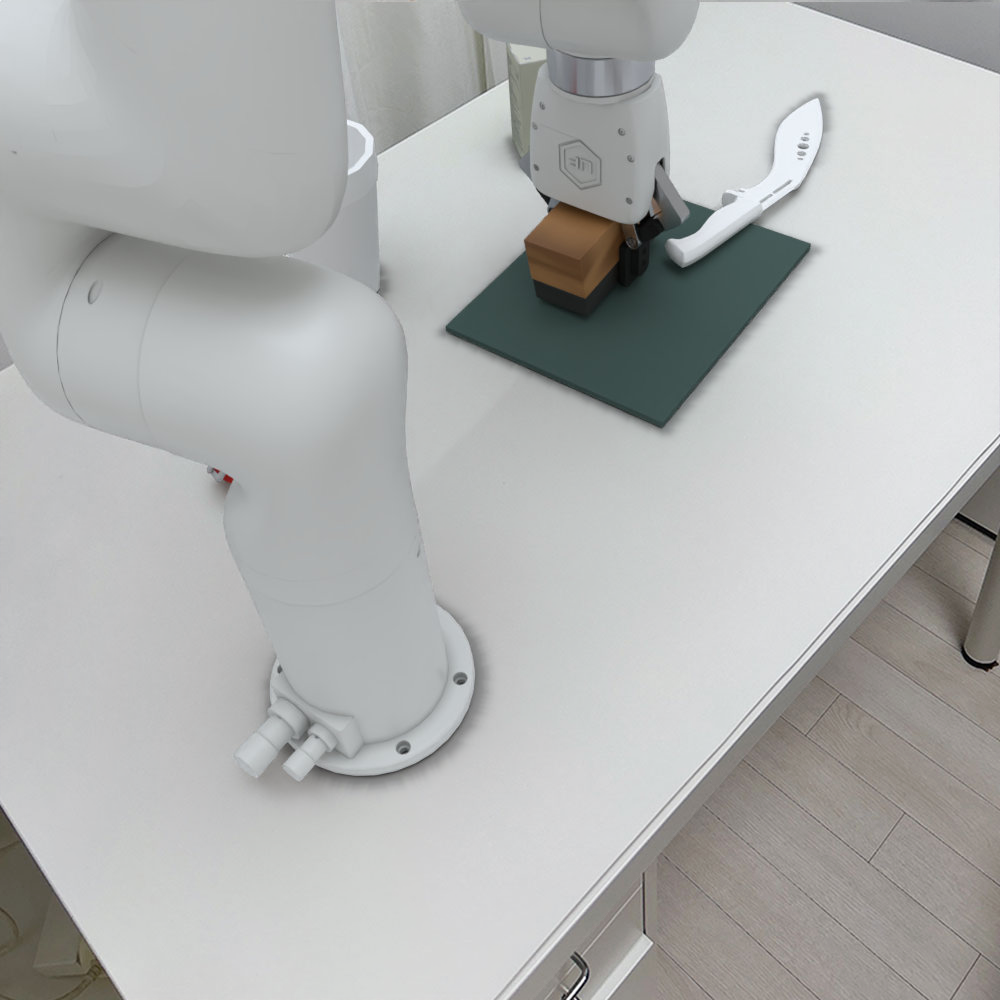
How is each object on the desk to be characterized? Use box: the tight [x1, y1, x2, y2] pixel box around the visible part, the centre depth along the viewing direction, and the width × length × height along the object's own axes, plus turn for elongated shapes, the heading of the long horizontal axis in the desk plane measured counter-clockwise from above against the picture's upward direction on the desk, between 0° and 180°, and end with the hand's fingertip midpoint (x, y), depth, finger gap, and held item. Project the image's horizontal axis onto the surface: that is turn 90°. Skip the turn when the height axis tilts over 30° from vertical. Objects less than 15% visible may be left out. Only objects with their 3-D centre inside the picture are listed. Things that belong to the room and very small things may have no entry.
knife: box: [665, 97, 824, 268], centre depth 97 cm, size 30×2×8 cm
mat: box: [445, 199, 812, 429], centre depth 90 cm, size 24×20×1 cm
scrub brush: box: [523, 197, 661, 316], centre depth 88 cm, size 12×5×6 cm, turn 143°
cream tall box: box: [505, 43, 547, 159], centre depth 100 cm, size 5×4×10 cm
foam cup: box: [288, 118, 381, 293], centre depth 88 cm, size 10×9×13 cm
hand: (601, 263), depth 90 cm, fingers closed on scrub brush, 5 cm apart
